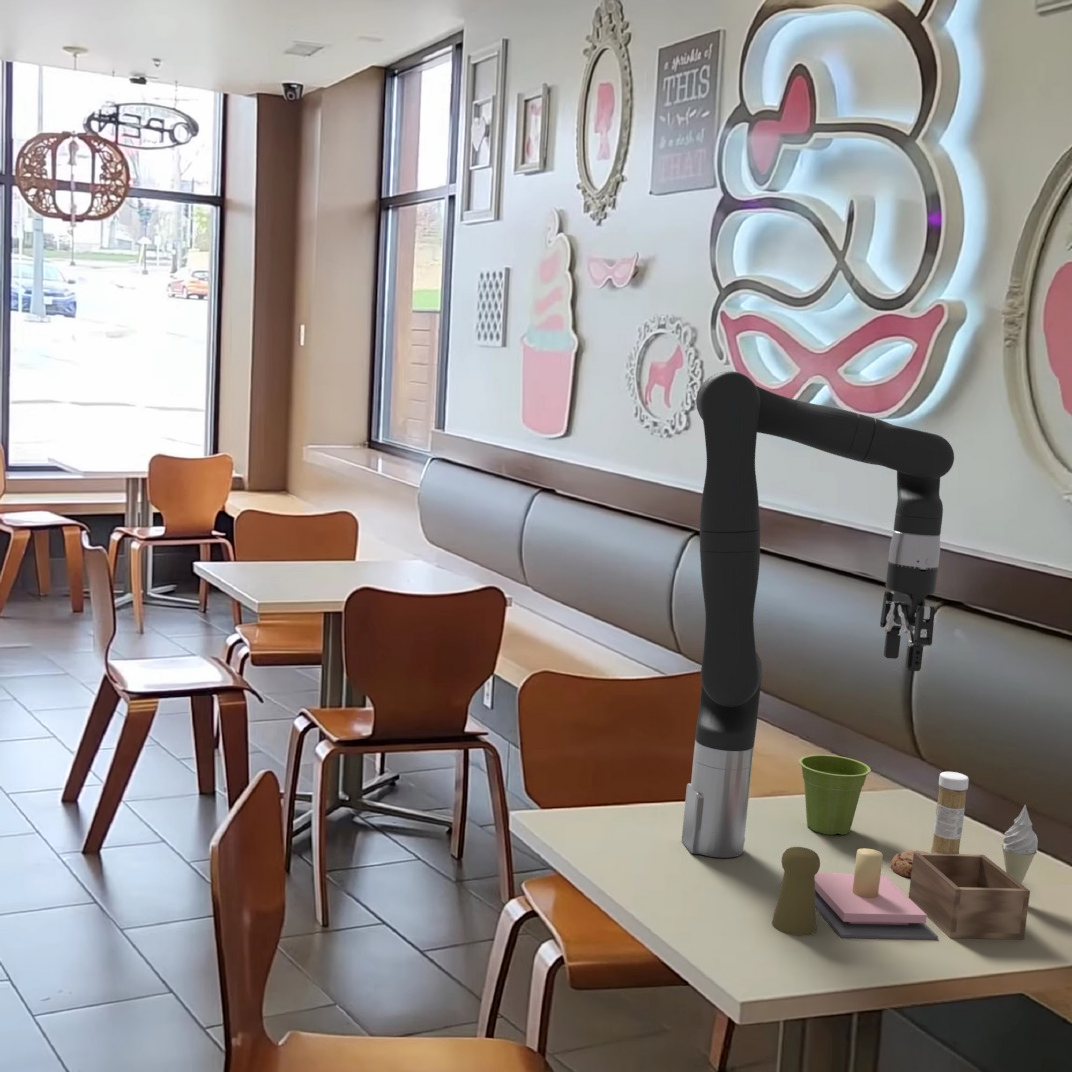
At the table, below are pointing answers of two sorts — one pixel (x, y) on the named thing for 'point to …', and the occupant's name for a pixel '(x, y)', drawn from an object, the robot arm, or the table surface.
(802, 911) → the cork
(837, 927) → the mat
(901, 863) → the cookie
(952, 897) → the box
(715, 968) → the table surface
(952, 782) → the sprinkles bottle
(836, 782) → the plant pot
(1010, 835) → the ice cream cone
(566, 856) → the table surface
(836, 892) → the lid
